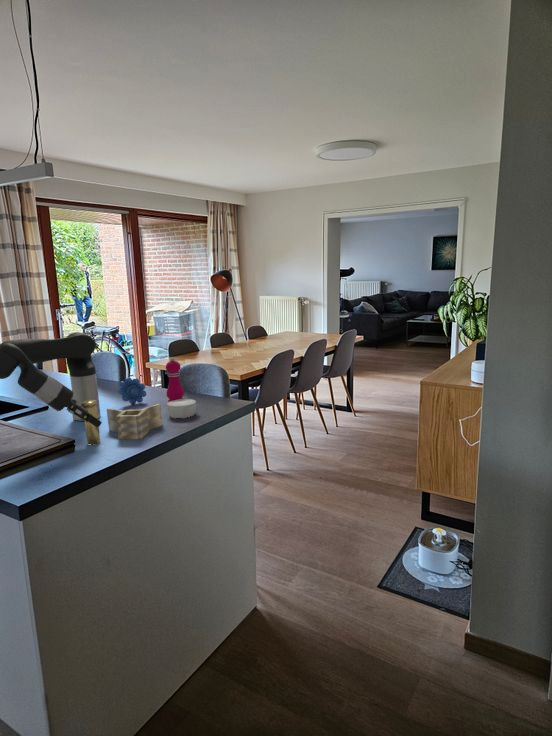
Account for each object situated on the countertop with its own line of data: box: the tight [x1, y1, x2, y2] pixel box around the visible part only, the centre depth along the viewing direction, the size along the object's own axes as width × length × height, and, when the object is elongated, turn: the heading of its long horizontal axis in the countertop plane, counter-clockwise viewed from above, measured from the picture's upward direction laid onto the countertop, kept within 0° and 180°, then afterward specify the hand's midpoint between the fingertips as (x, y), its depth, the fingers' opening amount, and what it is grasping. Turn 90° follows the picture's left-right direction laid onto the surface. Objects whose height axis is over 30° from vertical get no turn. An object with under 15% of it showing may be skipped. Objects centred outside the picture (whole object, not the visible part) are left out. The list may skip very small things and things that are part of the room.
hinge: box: [106, 403, 164, 440], centre depth 166 cm, size 18×15×8 cm
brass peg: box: [82, 400, 101, 446], centre depth 155 cm, size 4×4×14 cm
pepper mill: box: [165, 356, 185, 403], centre depth 200 cm, size 7×7×20 cm
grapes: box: [117, 376, 147, 405], centre depth 202 cm, size 12×7×12 cm, turn 122°
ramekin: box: [166, 398, 197, 419], centre depth 184 cm, size 11×11×5 cm
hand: (97, 423), depth 156 cm, fingers open, 4 cm apart
